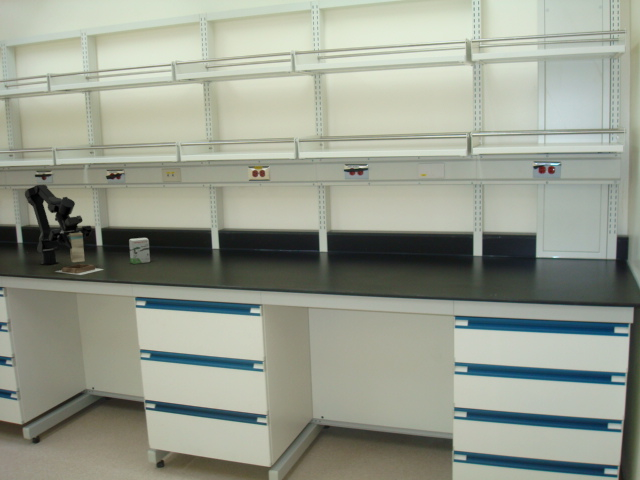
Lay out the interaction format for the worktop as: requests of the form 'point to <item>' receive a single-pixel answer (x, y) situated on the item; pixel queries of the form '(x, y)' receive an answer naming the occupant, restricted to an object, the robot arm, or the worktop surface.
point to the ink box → (139, 250)
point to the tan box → (76, 247)
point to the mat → (82, 272)
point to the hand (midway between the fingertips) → (77, 247)
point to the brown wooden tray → (78, 268)
